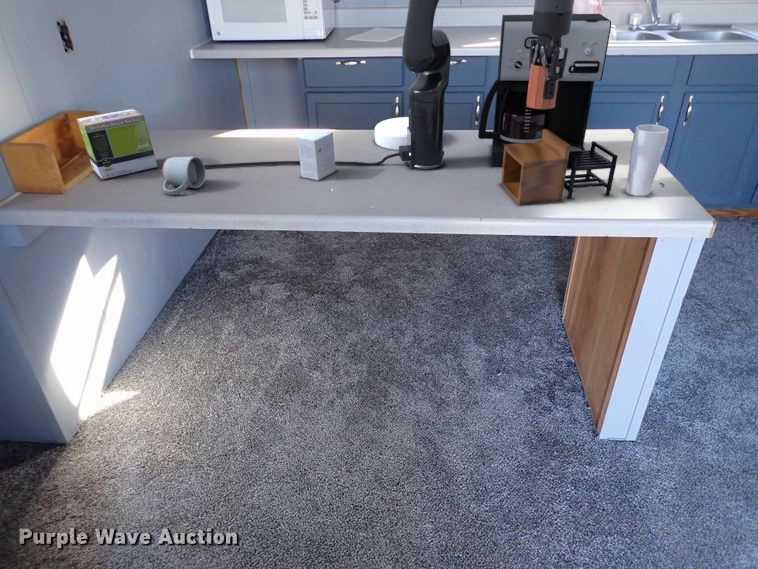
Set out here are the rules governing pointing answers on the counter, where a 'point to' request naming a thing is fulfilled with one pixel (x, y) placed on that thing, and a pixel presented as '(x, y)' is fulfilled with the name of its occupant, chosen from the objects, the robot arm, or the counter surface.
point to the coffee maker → (573, 89)
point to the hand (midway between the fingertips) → (542, 95)
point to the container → (392, 133)
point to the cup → (539, 89)
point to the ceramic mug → (183, 173)
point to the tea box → (117, 143)
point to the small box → (316, 154)
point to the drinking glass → (645, 158)
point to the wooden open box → (536, 169)
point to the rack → (589, 168)
